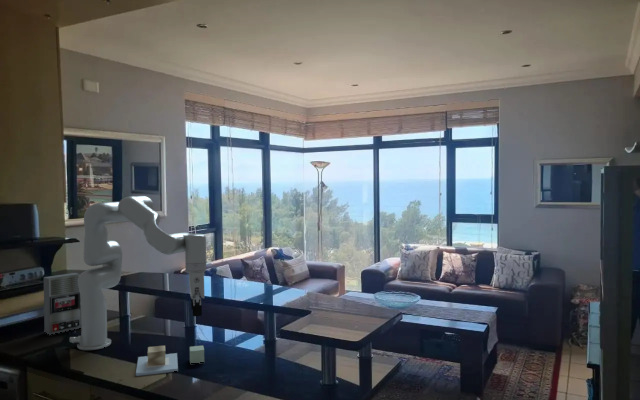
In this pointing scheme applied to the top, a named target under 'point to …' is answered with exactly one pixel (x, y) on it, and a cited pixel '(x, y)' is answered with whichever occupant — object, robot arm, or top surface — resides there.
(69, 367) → the top surface
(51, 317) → the cassette tape recorder
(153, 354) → the birch block
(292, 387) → the top surface
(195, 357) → the sage block
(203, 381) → the top surface
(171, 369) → the board
